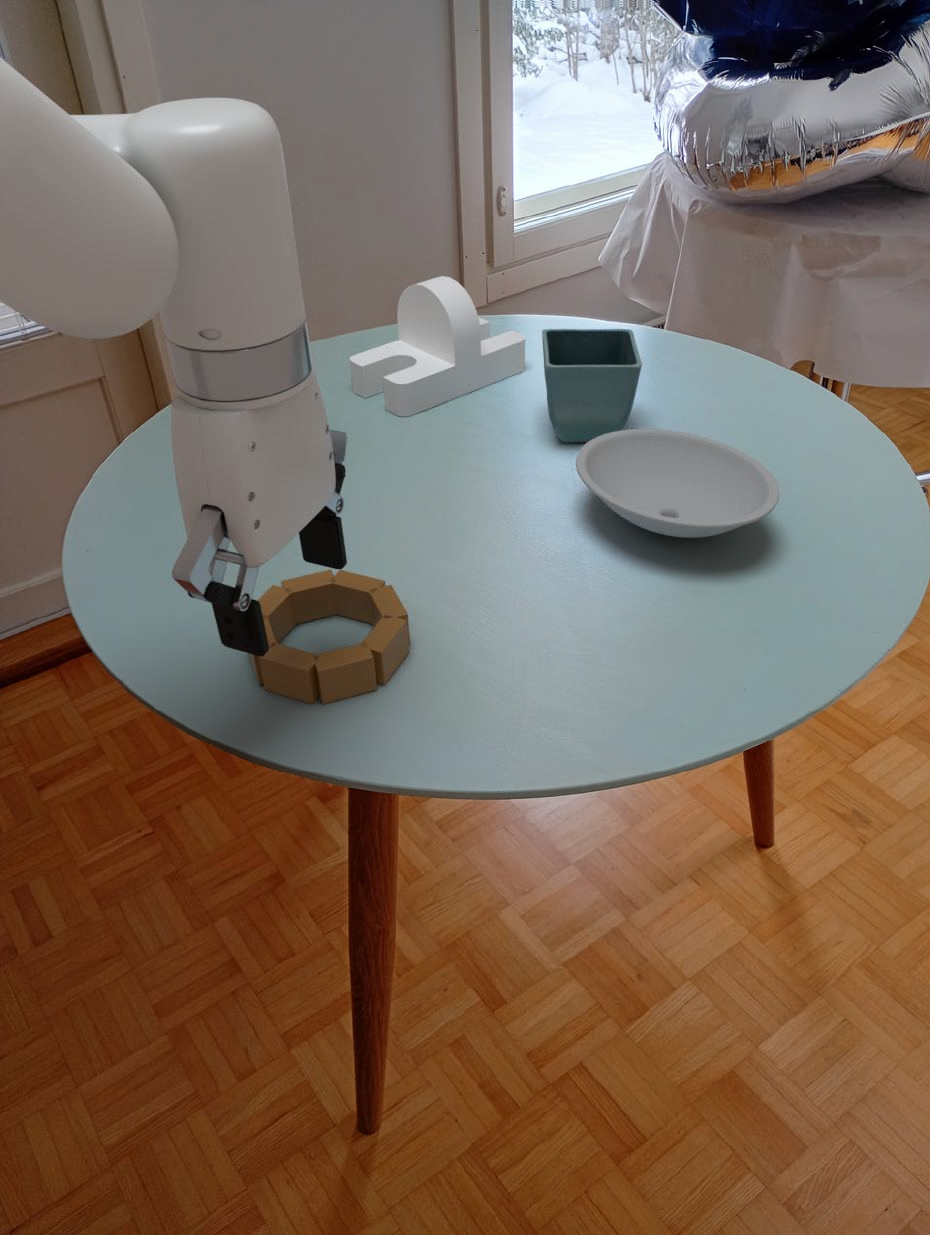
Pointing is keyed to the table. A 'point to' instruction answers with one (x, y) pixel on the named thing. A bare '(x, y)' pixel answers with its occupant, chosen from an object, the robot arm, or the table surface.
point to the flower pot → (590, 380)
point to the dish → (677, 481)
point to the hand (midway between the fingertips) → (287, 604)
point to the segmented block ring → (337, 668)
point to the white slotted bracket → (436, 351)
